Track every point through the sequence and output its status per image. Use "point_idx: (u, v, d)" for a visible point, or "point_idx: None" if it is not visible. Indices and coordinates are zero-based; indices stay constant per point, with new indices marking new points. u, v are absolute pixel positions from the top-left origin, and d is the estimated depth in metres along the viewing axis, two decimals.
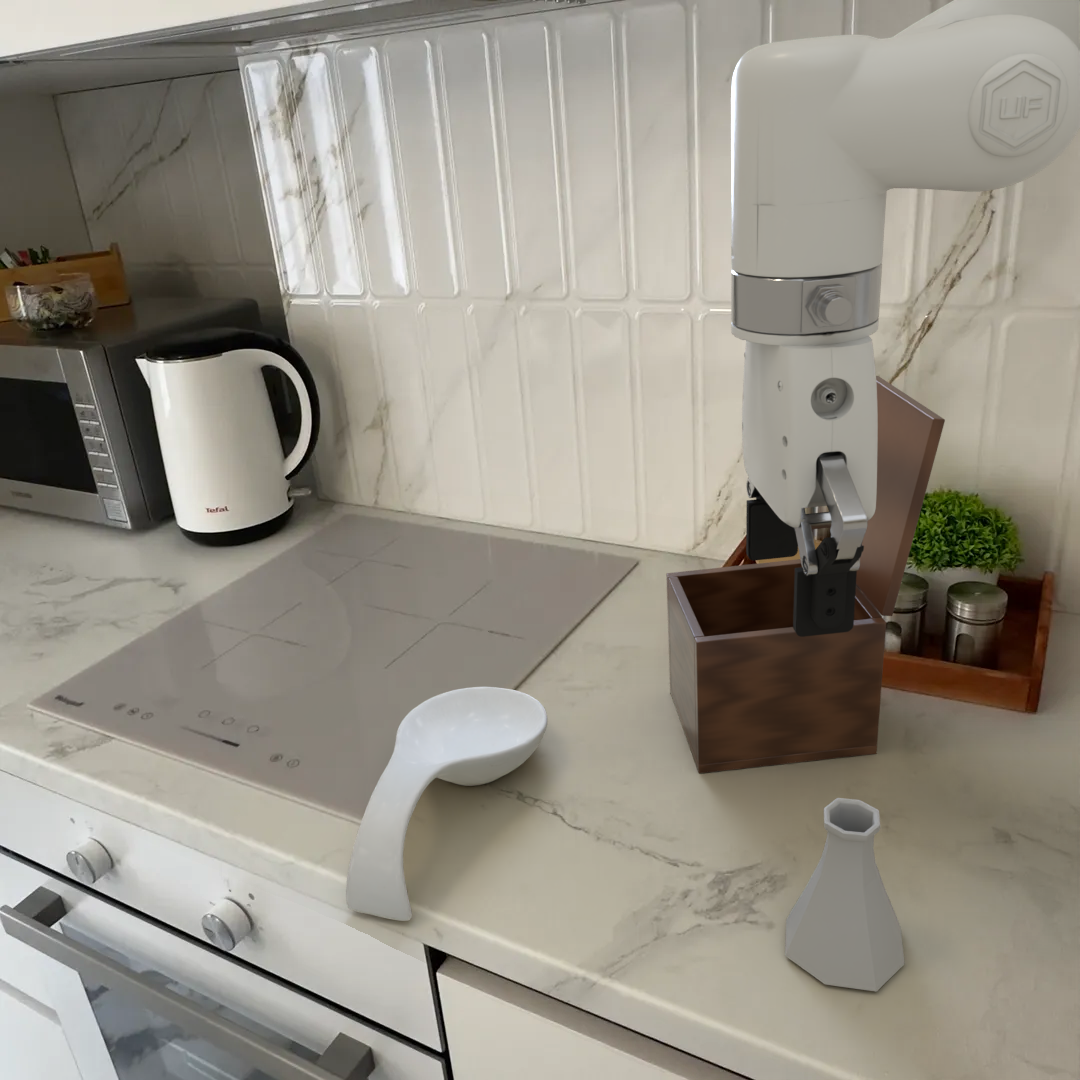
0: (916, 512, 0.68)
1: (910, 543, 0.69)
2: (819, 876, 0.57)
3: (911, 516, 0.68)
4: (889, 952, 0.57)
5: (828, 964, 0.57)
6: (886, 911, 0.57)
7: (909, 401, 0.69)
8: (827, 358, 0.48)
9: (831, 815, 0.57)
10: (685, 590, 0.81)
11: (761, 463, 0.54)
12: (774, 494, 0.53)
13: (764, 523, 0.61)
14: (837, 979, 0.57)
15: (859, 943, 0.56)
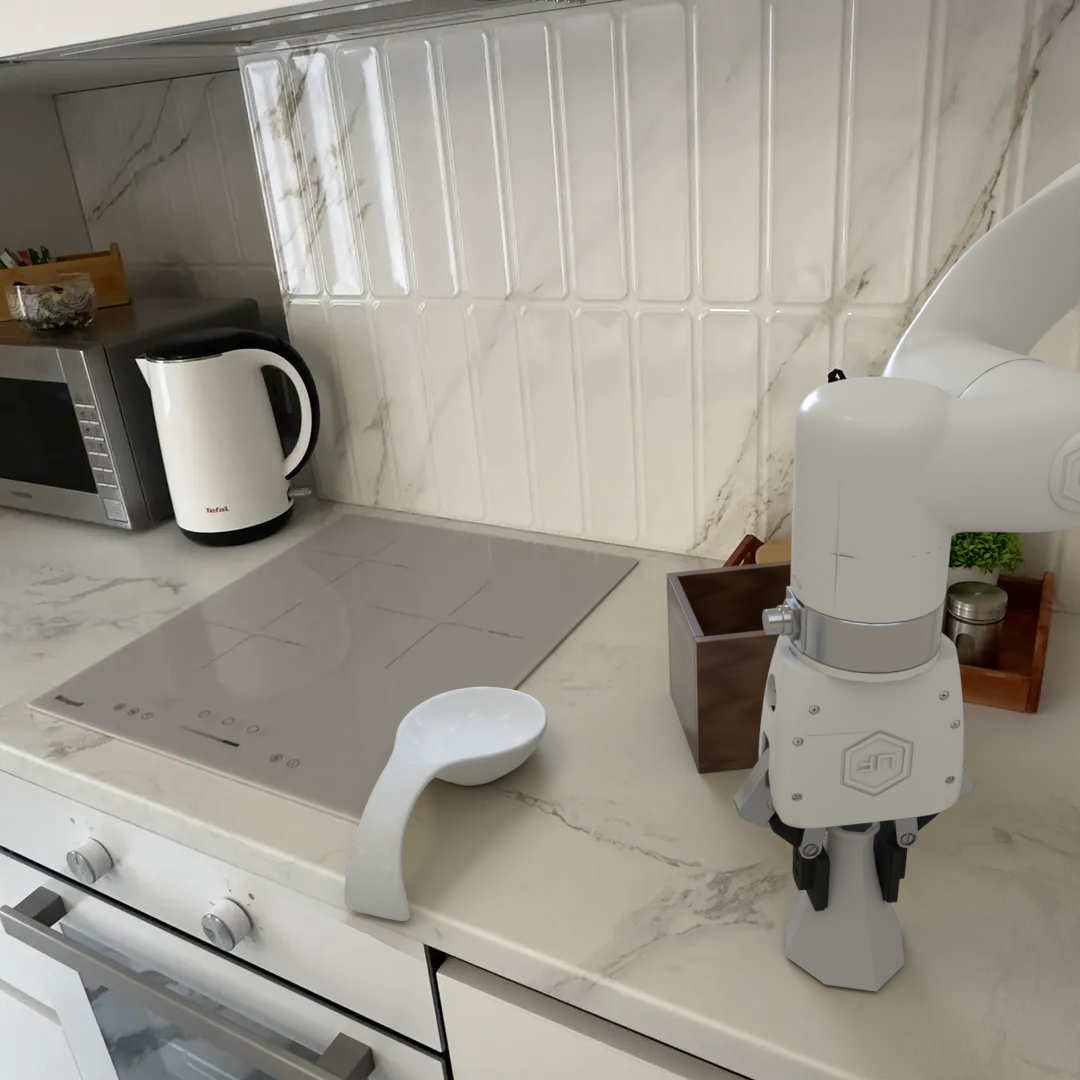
0: None
1: None
2: None
3: None
4: (889, 952, 0.57)
5: (828, 964, 0.57)
6: (886, 911, 0.57)
7: None
8: (776, 658, 0.51)
9: None
10: (685, 590, 0.81)
11: None
12: None
13: (873, 844, 0.58)
14: (837, 979, 0.57)
15: (859, 943, 0.56)
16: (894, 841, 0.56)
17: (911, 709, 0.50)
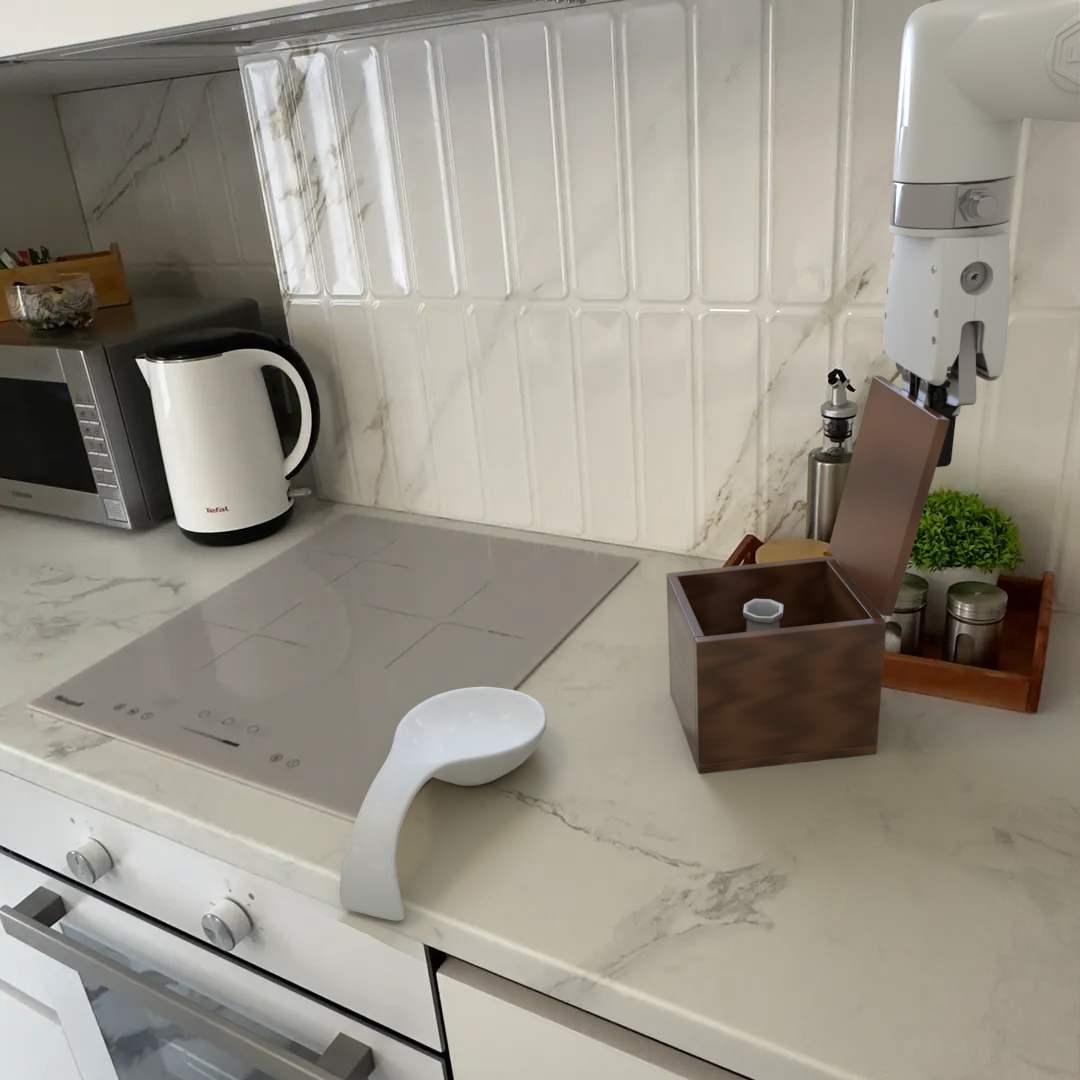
0: (919, 512, 0.68)
1: (912, 543, 0.69)
2: None
3: (913, 516, 0.68)
4: None
5: None
6: None
7: (914, 401, 0.69)
8: (974, 246, 0.62)
9: (749, 610, 0.78)
10: (685, 590, 0.81)
11: (908, 338, 0.68)
12: (921, 360, 0.67)
13: None
14: None
15: None
16: None
17: None
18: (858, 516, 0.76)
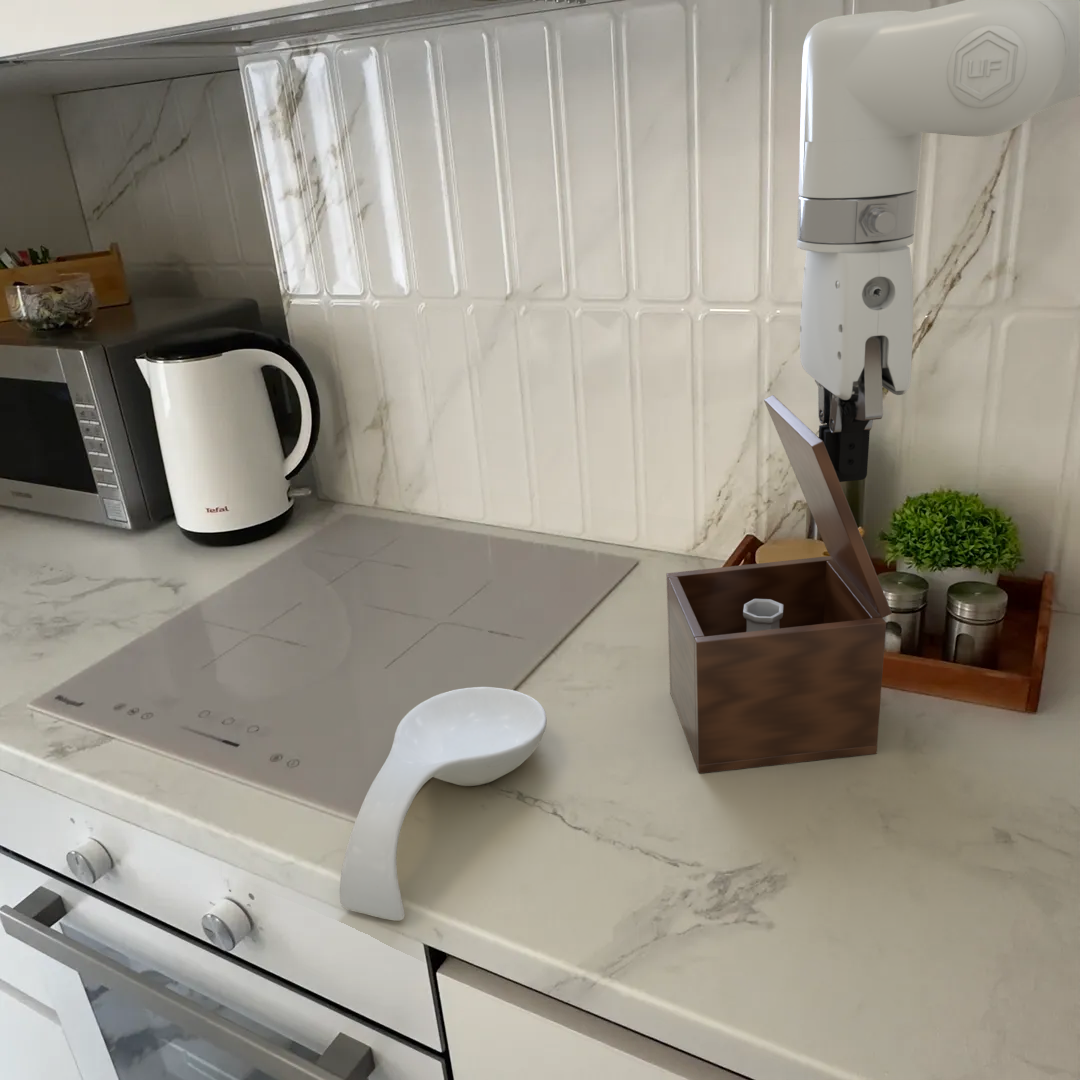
0: (851, 524, 0.68)
1: (865, 550, 0.69)
2: None
3: (849, 530, 0.68)
4: None
5: None
6: None
7: (794, 427, 0.69)
8: (875, 261, 0.62)
9: (749, 610, 0.78)
10: (685, 590, 0.81)
11: (818, 352, 0.68)
12: (829, 374, 0.67)
13: None
14: None
15: None
16: None
17: None
18: (824, 525, 0.76)
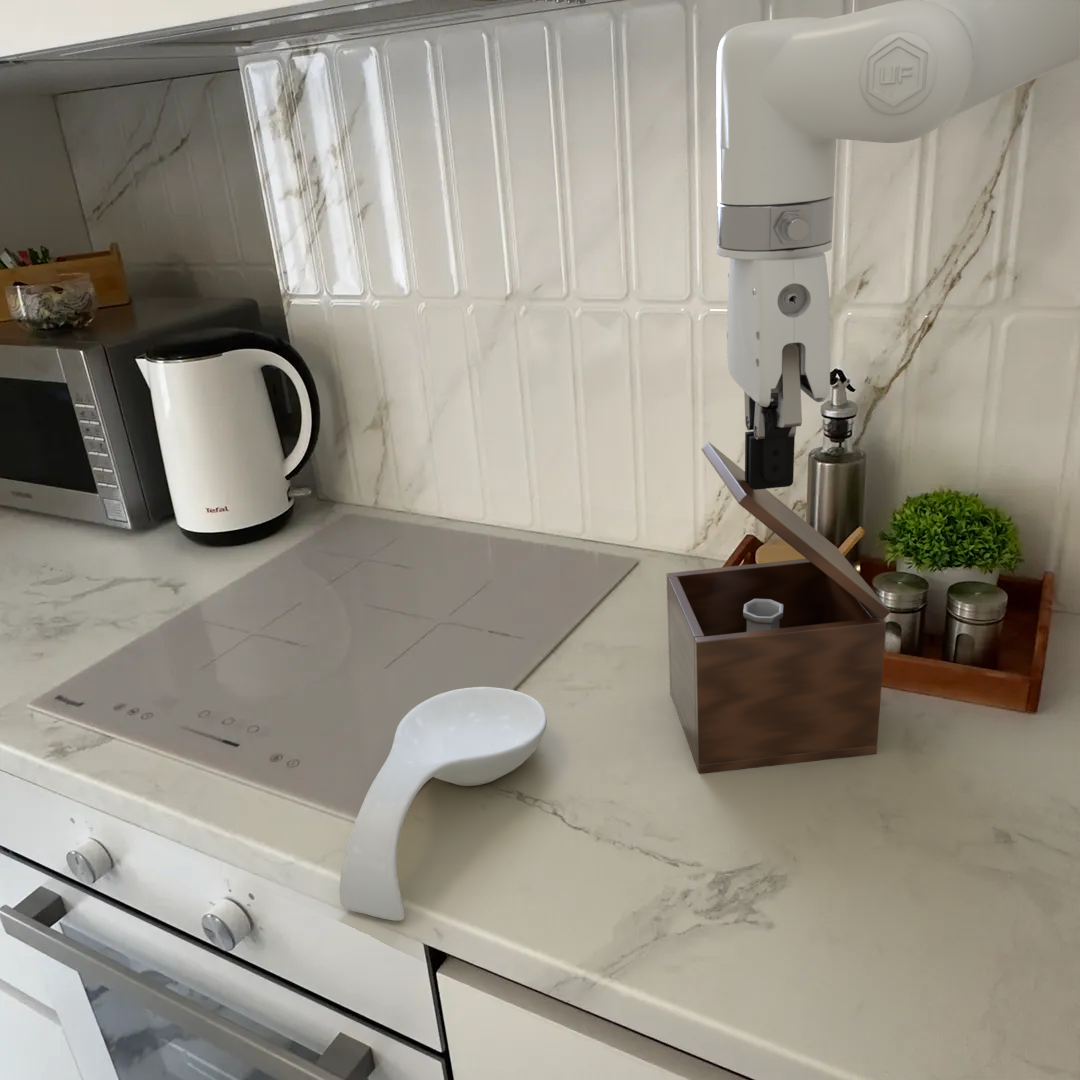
0: (811, 552, 0.69)
1: (835, 569, 0.69)
2: None
3: (811, 558, 0.69)
4: None
5: None
6: None
7: (724, 480, 0.70)
8: (790, 268, 0.62)
9: (749, 610, 0.78)
10: (685, 590, 0.81)
11: (740, 359, 0.68)
12: (750, 381, 0.67)
13: None
14: None
15: None
16: None
17: None
18: None
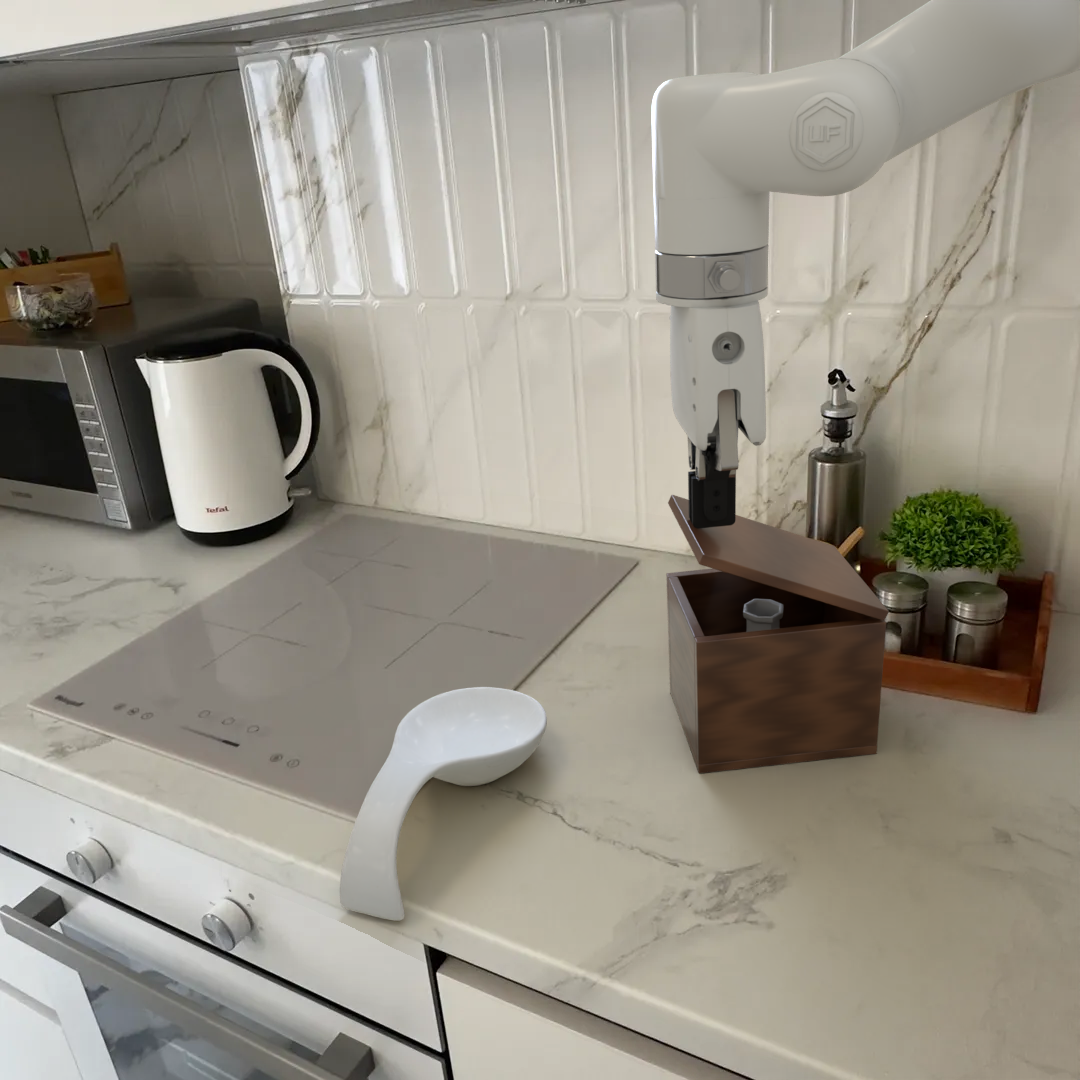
0: (787, 584, 0.70)
1: (817, 591, 0.70)
2: None
3: (790, 588, 0.70)
4: None
5: None
6: None
7: (687, 538, 0.72)
8: (724, 316, 0.63)
9: (749, 610, 0.78)
10: (685, 590, 0.81)
11: (681, 402, 0.69)
12: (689, 425, 0.68)
13: None
14: None
15: None
16: None
17: None
18: None
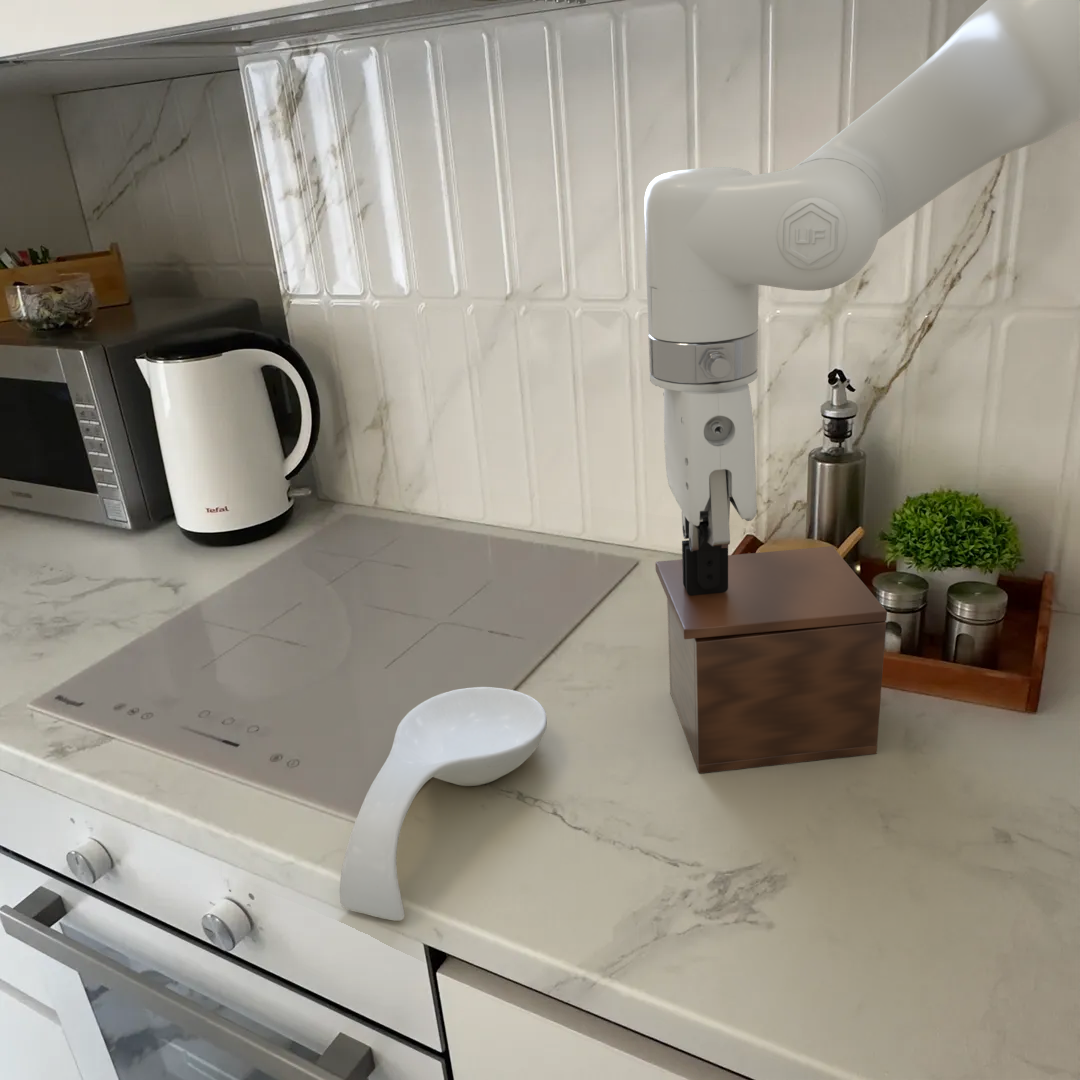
0: (776, 625, 0.71)
1: (808, 620, 0.71)
2: None
3: (780, 627, 0.71)
4: None
5: None
6: None
7: None
8: (714, 401, 0.65)
9: None
10: None
11: (674, 477, 0.71)
12: (682, 500, 0.70)
13: None
14: None
15: None
16: None
17: None
18: None
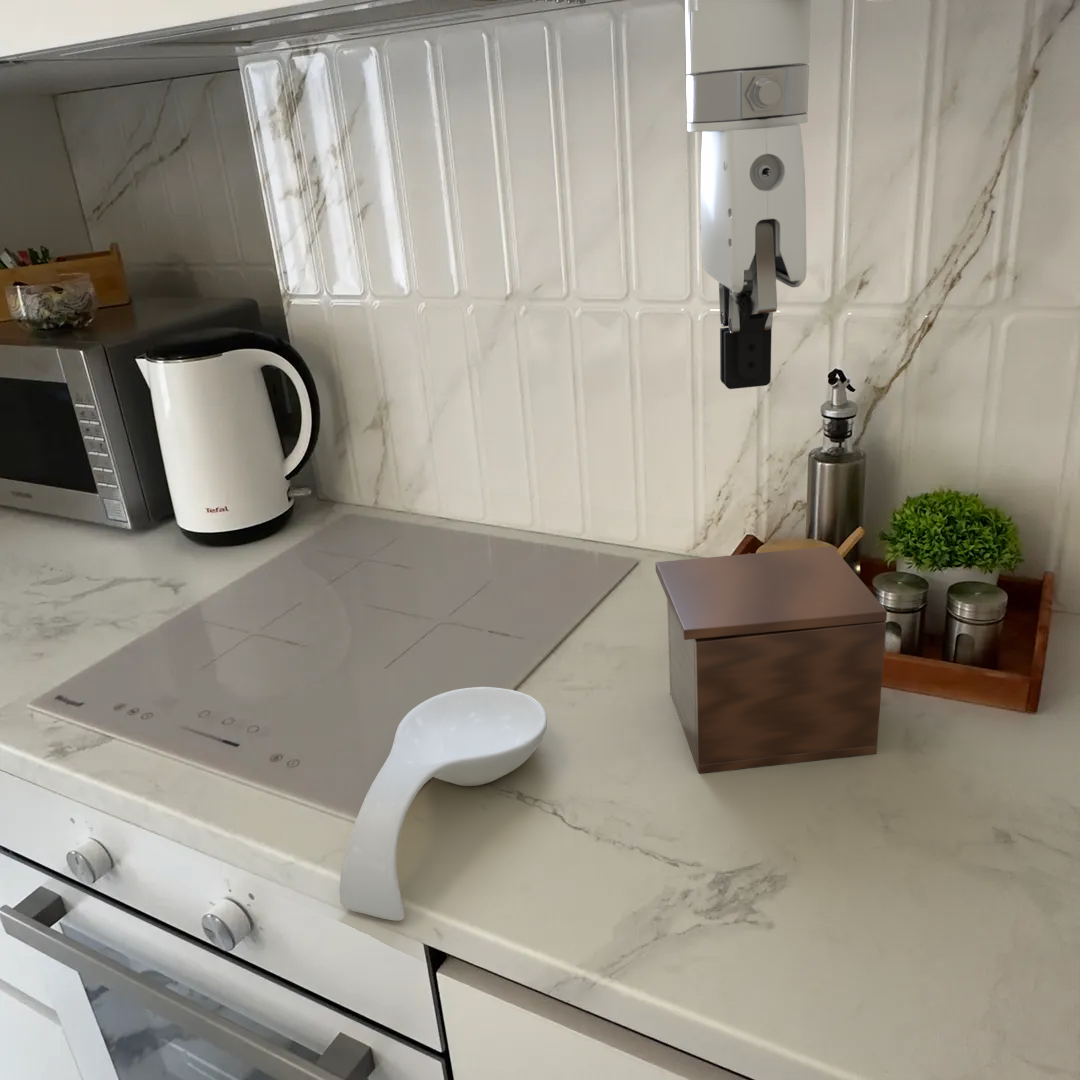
0: (776, 625, 0.71)
1: (808, 620, 0.71)
2: None
3: (780, 628, 0.71)
4: None
5: None
6: None
7: None
8: (762, 137, 0.58)
9: None
10: None
11: (713, 246, 0.65)
12: (723, 267, 0.63)
13: None
14: None
15: None
16: None
17: None
18: None
